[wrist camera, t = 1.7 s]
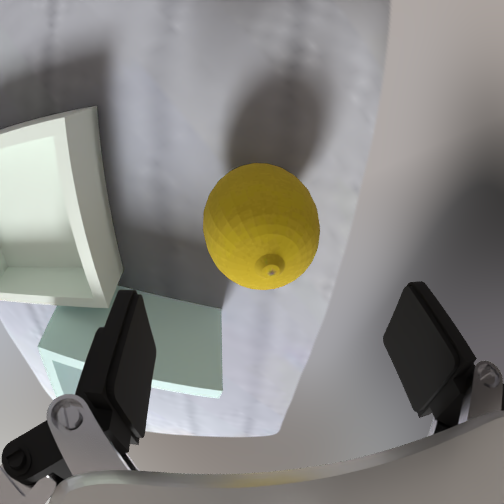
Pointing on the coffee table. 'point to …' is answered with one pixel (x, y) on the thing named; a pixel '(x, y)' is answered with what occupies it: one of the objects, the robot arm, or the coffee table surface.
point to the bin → (56, 213)
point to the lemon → (261, 226)
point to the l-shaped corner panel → (165, 337)
